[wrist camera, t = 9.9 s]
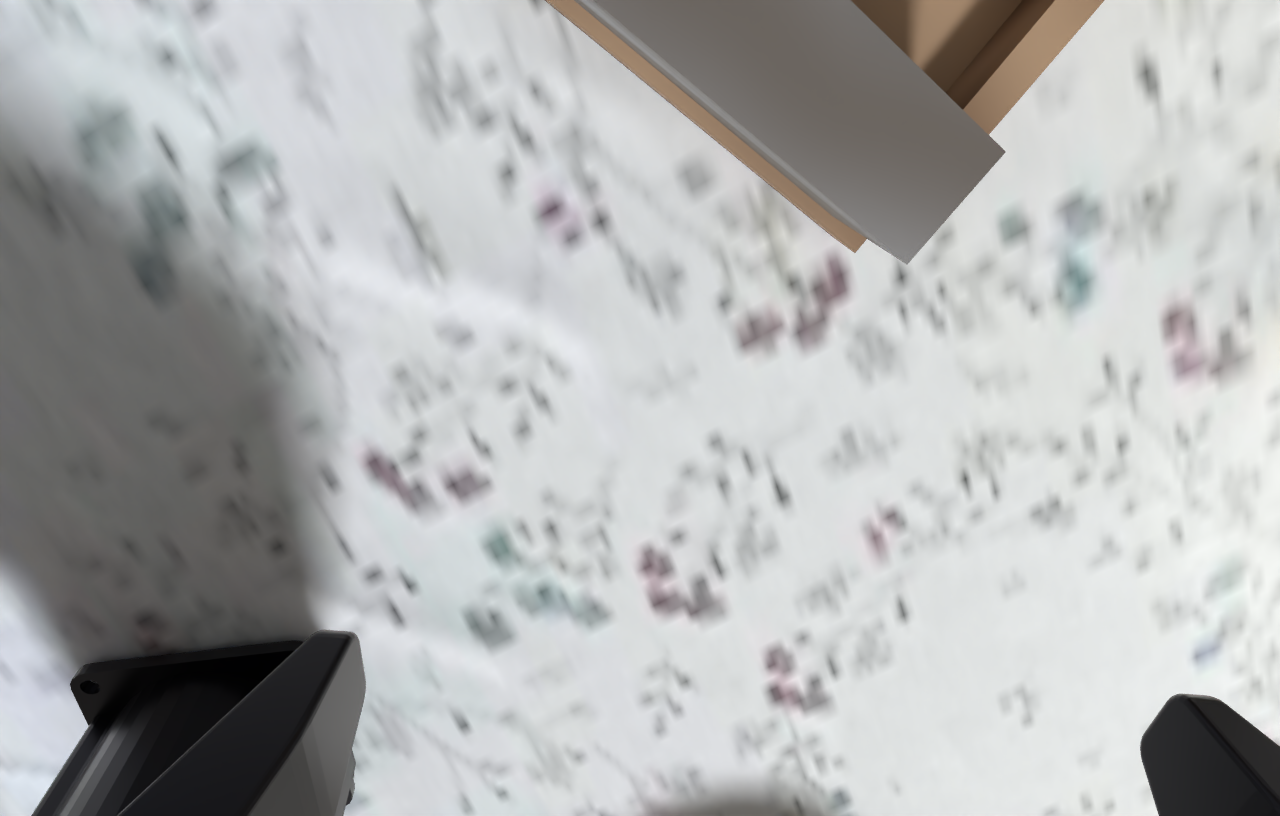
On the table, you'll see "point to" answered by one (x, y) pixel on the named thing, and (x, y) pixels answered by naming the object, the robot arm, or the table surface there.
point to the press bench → (845, 93)
